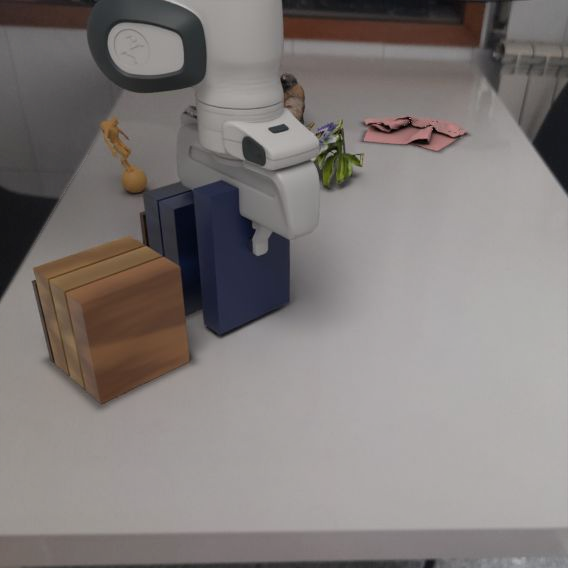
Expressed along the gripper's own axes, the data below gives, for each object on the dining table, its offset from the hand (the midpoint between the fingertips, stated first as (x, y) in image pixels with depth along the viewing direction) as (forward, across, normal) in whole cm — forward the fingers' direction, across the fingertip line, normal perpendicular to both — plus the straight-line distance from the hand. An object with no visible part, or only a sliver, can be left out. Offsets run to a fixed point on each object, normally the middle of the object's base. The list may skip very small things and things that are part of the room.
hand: (245, 245), depth 82 cm
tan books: (+10, -3, -16) cm, 19 cm away
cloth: (+10, -32, +69) cm, 77 cm away
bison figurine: (+10, -48, +50) cm, 70 cm away
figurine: (+10, -42, +10) cm, 44 cm away
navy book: (+9, 0, 0) cm, 9 cm away
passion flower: (+10, -26, +40) cm, 49 cm away
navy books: (+10, -9, 0) cm, 14 cm away
